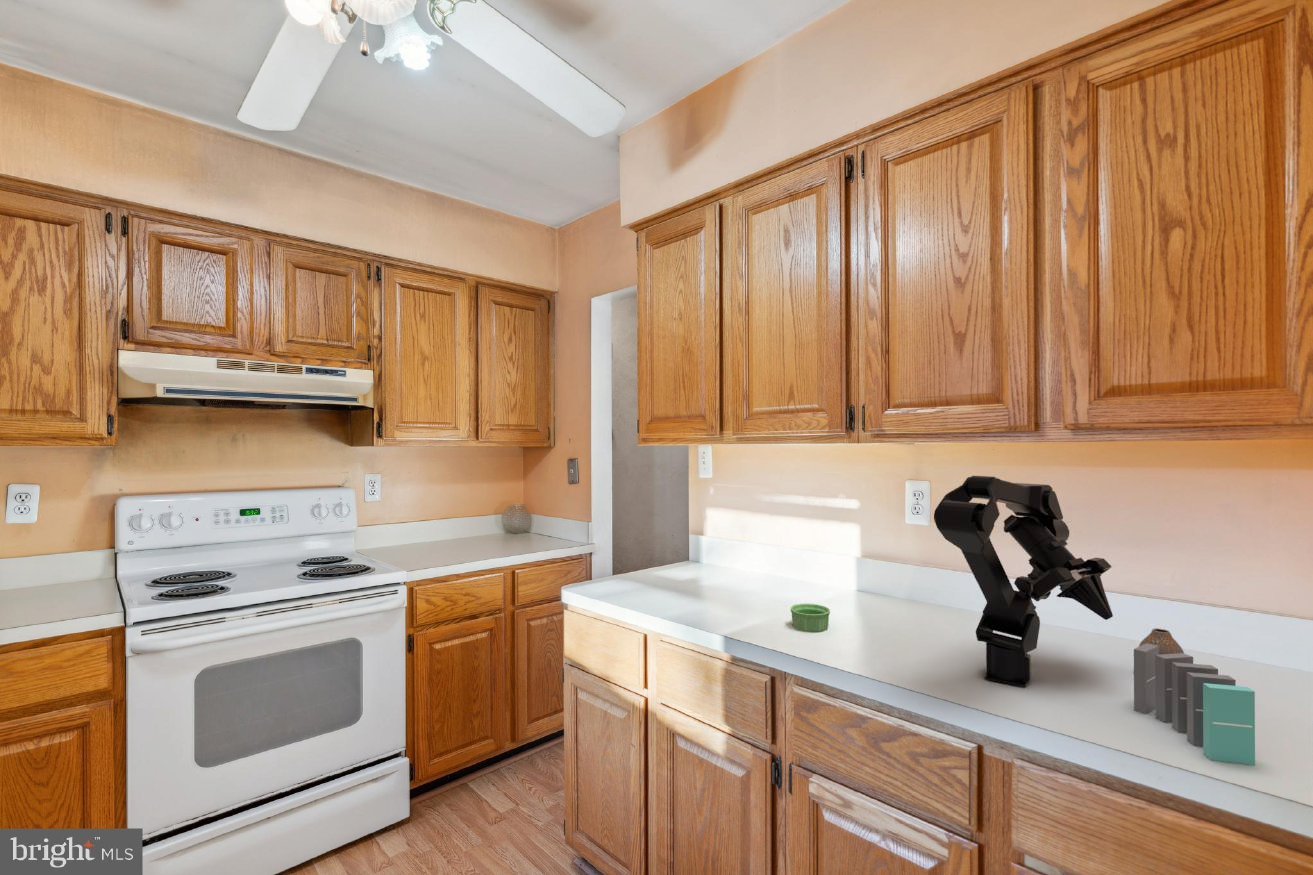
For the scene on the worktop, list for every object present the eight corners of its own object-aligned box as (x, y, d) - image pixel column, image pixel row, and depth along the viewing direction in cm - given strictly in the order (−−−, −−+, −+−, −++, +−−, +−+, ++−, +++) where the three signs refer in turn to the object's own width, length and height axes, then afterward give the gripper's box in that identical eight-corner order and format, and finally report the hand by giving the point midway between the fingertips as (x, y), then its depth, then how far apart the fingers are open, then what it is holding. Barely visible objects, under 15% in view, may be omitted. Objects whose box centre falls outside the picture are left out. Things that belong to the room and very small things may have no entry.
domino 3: (1172, 727, 92) (1171, 662, 92) (1212, 731, 91) (1211, 665, 91) (1178, 732, 91) (1177, 665, 91) (1218, 736, 89) (1218, 669, 89)
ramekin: (782, 625, 144) (782, 606, 144) (811, 619, 148) (811, 601, 148) (808, 636, 136) (808, 616, 136) (838, 629, 140) (838, 610, 140)
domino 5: (1203, 754, 85) (1202, 683, 85) (1247, 758, 83) (1246, 686, 83) (1210, 760, 83) (1209, 687, 83) (1255, 765, 82) (1254, 691, 82)
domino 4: (1187, 740, 89) (1186, 672, 88) (1228, 744, 87) (1228, 675, 87) (1193, 745, 87) (1192, 676, 87) (1236, 750, 86) (1235, 679, 86)
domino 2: (1155, 717, 95) (1155, 654, 95) (1183, 715, 96) (1183, 653, 96) (1165, 722, 94) (1164, 658, 94) (1193, 720, 94) (1193, 656, 94)
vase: (1163, 670, 114) (1162, 623, 114) (1197, 685, 107) (1196, 636, 107) (1127, 671, 114) (1127, 624, 114) (1159, 686, 107) (1159, 637, 107)
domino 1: (1134, 710, 98) (1133, 648, 98) (1146, 702, 101) (1146, 643, 101) (1146, 714, 97) (1145, 651, 97) (1158, 706, 99) (1158, 645, 99)
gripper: (1035, 564, 125) (1097, 631, 116) (984, 576, 115) (1047, 651, 106) (1078, 531, 118) (1147, 600, 109) (1028, 541, 108) (1099, 618, 99)
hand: (1109, 618), depth 106 cm, fingers closed
